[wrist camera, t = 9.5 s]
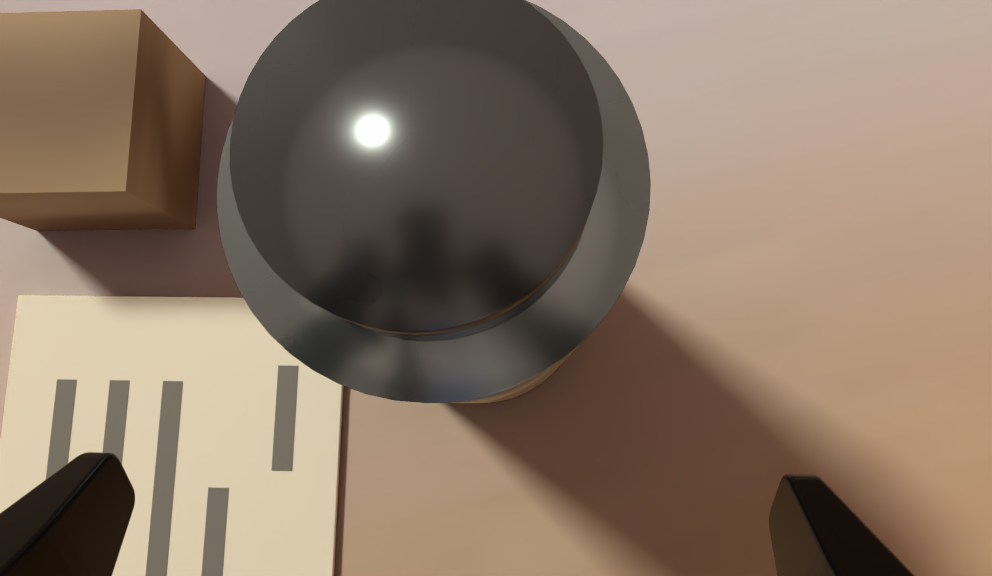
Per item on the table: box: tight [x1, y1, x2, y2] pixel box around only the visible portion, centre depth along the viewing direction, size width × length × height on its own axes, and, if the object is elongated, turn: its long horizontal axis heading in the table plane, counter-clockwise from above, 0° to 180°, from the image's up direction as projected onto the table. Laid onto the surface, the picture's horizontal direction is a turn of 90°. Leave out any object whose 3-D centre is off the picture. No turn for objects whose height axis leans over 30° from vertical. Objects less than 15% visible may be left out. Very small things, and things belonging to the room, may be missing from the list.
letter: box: [0, 295, 343, 576], centre depth 20 cm, size 13×10×1 cm
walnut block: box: [0, 10, 206, 231], centre depth 21 cm, size 5×5×4 cm
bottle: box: [217, 0, 651, 403], centre depth 15 cm, size 6×6×13 cm
